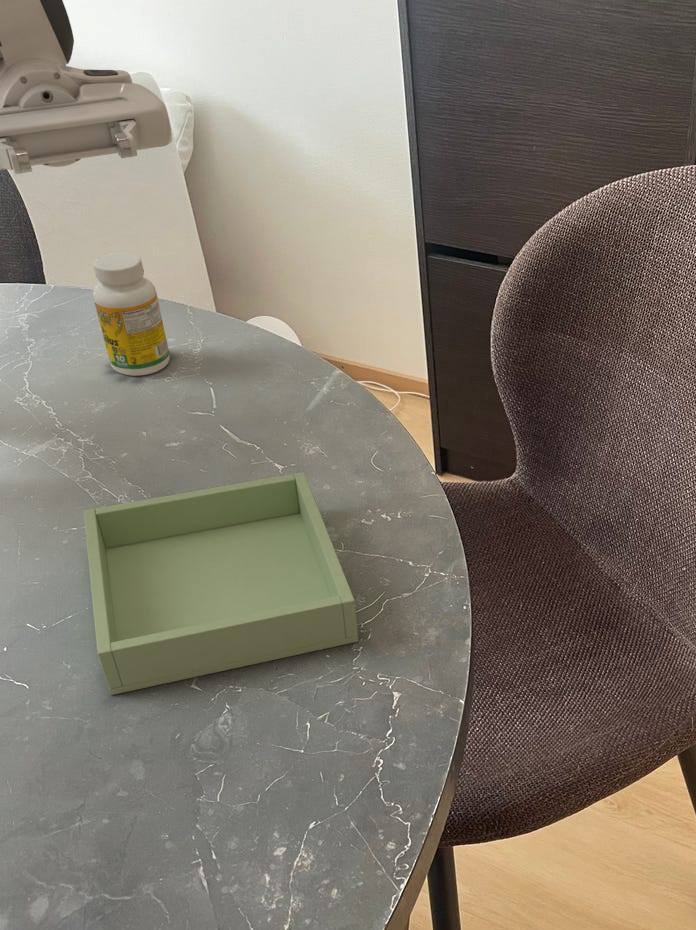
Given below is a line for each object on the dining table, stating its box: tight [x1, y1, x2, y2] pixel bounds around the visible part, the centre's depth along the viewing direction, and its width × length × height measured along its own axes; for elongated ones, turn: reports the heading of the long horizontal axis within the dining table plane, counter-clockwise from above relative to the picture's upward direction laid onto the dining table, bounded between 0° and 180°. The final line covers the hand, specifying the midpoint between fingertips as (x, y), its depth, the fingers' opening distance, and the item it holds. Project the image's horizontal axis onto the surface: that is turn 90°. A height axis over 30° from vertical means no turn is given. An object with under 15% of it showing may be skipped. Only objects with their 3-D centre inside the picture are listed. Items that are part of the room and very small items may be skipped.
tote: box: [82, 471, 359, 696], centre depth 70 cm, size 16×16×4 cm
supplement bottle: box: [92, 252, 171, 377], centre depth 93 cm, size 5×5×10 cm
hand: (75, 156), depth 94 cm, fingers open, 8 cm apart
